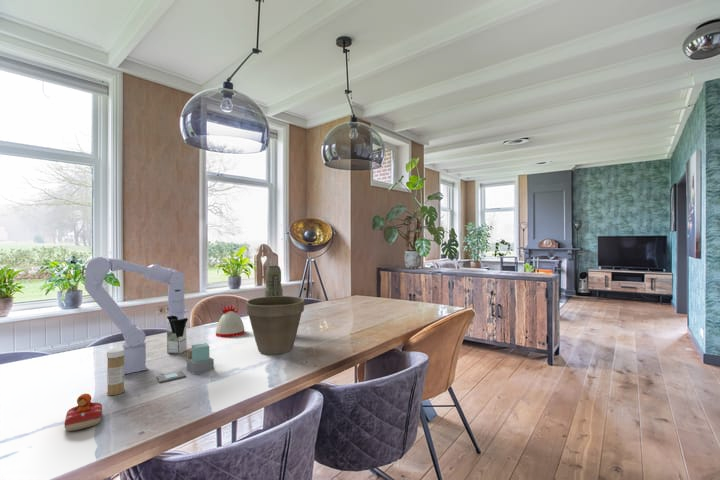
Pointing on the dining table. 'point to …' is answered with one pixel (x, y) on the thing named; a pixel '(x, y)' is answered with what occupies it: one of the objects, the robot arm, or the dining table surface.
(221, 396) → the dining table surface
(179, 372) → the card
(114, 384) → the sprinkles bottle
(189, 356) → the walnut block
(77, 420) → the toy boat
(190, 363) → the grey block
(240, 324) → the white domed piece
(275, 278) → the green cactus
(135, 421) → the dining table surface
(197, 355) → the teal block
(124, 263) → the robot arm
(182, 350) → the syrup box
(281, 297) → the plant pot
